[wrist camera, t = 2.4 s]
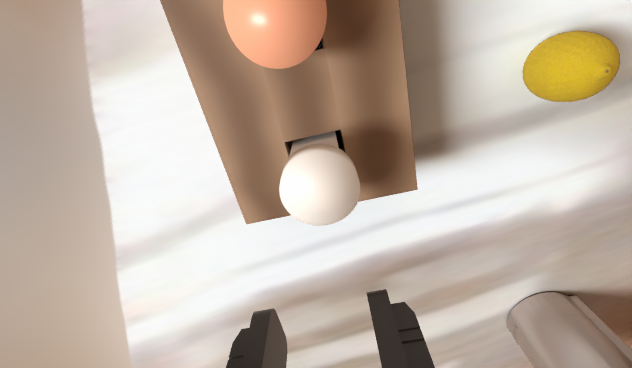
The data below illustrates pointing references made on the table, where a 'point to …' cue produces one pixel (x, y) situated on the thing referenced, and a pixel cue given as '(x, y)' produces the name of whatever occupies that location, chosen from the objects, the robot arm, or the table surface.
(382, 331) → the robot arm
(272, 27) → the terracotta plunger
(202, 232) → the table surface
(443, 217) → the table surface
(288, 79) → the walnut block
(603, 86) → the lemon
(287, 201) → the white rounded piece
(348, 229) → the table surface
